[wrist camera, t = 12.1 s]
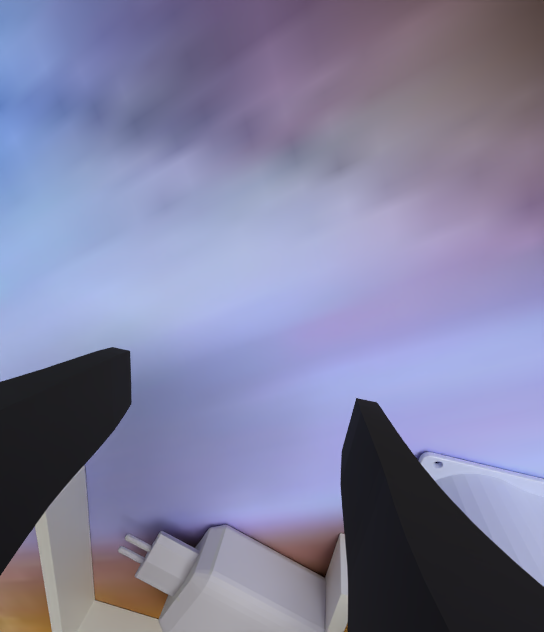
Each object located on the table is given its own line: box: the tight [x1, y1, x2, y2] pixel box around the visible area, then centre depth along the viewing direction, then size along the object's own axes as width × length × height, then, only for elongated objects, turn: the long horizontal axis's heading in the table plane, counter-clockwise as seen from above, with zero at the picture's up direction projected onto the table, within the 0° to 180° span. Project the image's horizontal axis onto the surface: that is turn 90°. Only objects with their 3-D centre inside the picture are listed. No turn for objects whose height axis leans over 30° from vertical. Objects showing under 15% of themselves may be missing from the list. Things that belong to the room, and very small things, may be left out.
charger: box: [118, 525, 326, 632], centre depth 26 cm, size 5×9×15 cm
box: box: [35, 466, 348, 632], centre depth 28 cm, size 22×18×4 cm
